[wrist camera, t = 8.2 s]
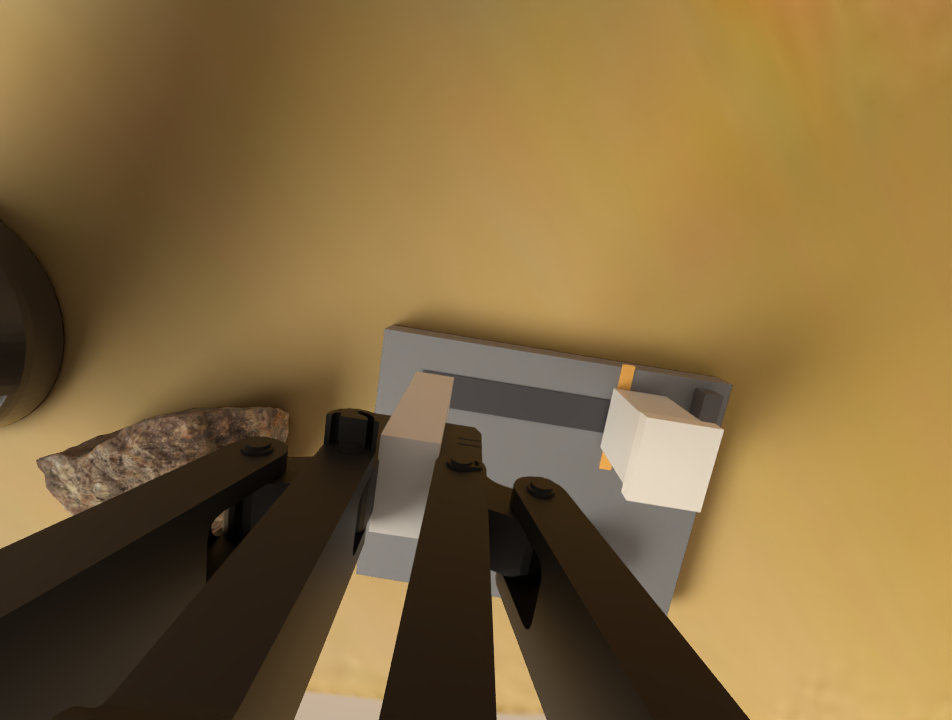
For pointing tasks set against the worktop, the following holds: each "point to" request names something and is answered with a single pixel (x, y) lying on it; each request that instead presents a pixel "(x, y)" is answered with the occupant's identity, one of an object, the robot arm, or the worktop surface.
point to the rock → (152, 452)
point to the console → (547, 438)
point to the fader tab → (659, 450)
